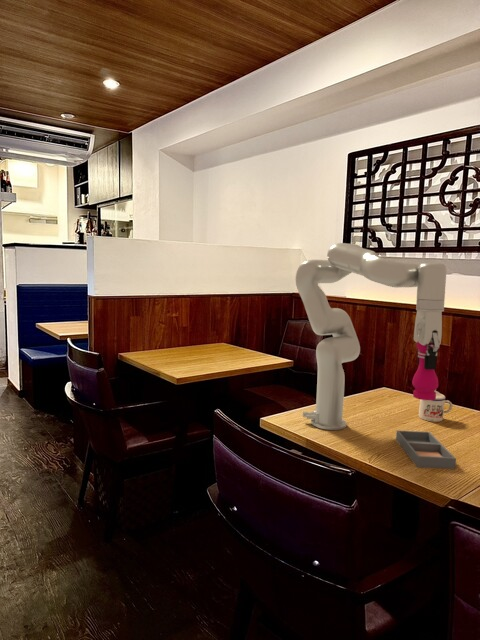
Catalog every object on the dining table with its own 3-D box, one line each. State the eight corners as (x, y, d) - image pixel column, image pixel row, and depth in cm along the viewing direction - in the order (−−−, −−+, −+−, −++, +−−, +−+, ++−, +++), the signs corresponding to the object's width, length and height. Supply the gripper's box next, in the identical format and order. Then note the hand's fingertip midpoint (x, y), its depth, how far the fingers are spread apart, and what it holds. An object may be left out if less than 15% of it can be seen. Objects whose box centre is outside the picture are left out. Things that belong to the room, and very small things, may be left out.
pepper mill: (440, 401, 131) (444, 333, 129) (413, 399, 132) (417, 331, 130) (434, 395, 138) (438, 329, 136) (409, 393, 139) (413, 328, 137)
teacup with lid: (421, 421, 170) (424, 391, 168) (415, 413, 179) (417, 384, 177) (455, 423, 168) (458, 393, 167) (446, 415, 177) (449, 386, 176)
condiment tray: (417, 467, 130) (417, 456, 130) (396, 439, 151) (396, 430, 151) (455, 468, 130) (456, 458, 130) (428, 440, 151) (429, 431, 150)
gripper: (407, 303, 141) (404, 361, 143) (427, 307, 124) (423, 373, 126) (432, 303, 140) (428, 361, 142) (455, 308, 124) (451, 373, 125)
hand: (426, 366), depth 134 cm, fingers closed on pepper mill, 5 cm apart
